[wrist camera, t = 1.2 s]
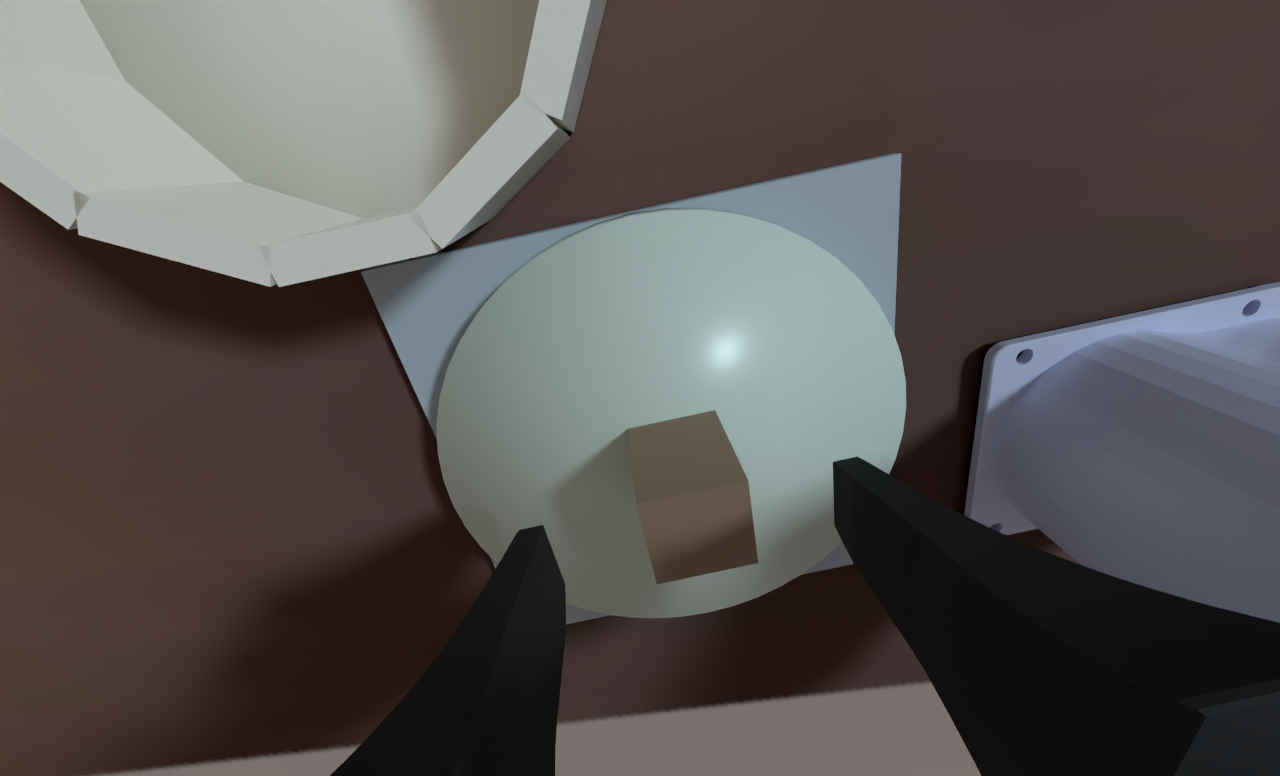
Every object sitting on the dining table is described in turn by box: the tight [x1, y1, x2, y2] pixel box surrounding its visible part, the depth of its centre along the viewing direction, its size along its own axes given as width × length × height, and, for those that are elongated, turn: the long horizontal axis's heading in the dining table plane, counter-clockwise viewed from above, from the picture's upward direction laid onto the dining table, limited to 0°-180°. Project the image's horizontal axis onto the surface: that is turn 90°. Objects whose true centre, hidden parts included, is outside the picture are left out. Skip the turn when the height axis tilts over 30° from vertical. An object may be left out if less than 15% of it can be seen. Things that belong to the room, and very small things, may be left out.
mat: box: [361, 153, 901, 624], centre depth 16 cm, size 14×14×1 cm
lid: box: [436, 208, 906, 618], centre depth 13 cm, size 14×14×4 cm
